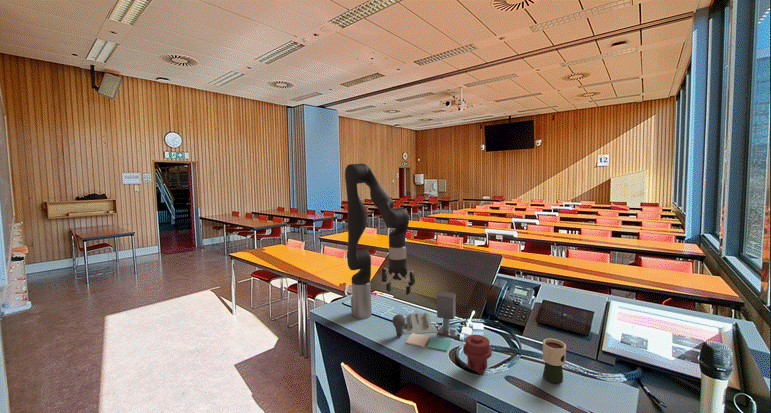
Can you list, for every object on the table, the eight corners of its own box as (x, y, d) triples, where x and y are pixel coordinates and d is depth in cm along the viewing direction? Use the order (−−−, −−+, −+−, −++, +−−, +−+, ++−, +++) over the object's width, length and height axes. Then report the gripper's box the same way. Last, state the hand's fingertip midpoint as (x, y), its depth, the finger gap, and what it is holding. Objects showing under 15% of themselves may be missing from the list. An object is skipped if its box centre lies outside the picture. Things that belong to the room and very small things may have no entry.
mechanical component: (457, 369, 123) (472, 357, 130) (482, 381, 116) (496, 368, 123) (457, 338, 122) (472, 327, 128) (482, 348, 114) (497, 337, 121)
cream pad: (405, 343, 142) (405, 342, 142) (412, 334, 149) (412, 332, 149) (423, 346, 139) (423, 345, 139) (429, 337, 146) (429, 336, 146)
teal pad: (427, 347, 138) (427, 346, 138) (432, 338, 145) (432, 336, 145) (446, 351, 135) (446, 350, 135) (451, 341, 142) (451, 340, 142)
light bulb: (391, 339, 145) (390, 317, 144) (394, 332, 151) (393, 311, 149) (404, 340, 144) (403, 318, 142) (406, 334, 149) (406, 312, 148)
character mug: (563, 391, 110) (565, 354, 108) (539, 384, 114) (540, 348, 112) (565, 373, 119) (567, 338, 118) (543, 367, 123) (544, 333, 121)
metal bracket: (401, 310, 160) (432, 308, 161) (401, 319, 163) (432, 318, 163) (404, 333, 147) (438, 331, 148) (404, 343, 150) (437, 341, 150)
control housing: (437, 334, 148) (436, 295, 145) (440, 328, 153) (440, 290, 150) (453, 337, 145) (453, 297, 143) (455, 331, 150) (455, 293, 148)
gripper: (378, 257, 142) (379, 294, 144) (410, 260, 136) (411, 298, 138) (385, 252, 149) (386, 287, 151) (416, 255, 143) (417, 291, 145)
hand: (398, 292), depth 145 cm, fingers open, 8 cm apart
